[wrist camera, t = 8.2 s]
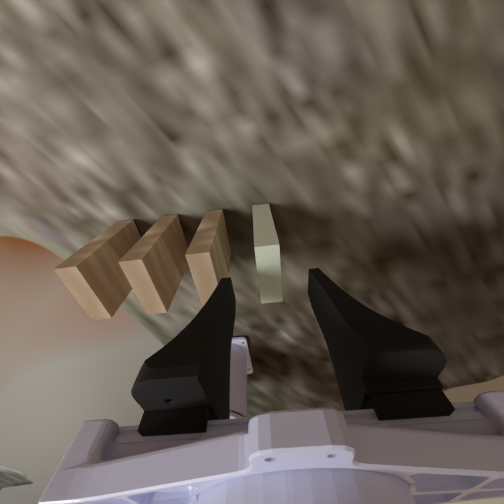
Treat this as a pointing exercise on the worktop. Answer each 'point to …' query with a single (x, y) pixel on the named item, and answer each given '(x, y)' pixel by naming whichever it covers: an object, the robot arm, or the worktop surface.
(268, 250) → the domino
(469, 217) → the worktop surface
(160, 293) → the domino
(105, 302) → the domino
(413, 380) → the robot arm
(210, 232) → the domino
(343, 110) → the worktop surface
